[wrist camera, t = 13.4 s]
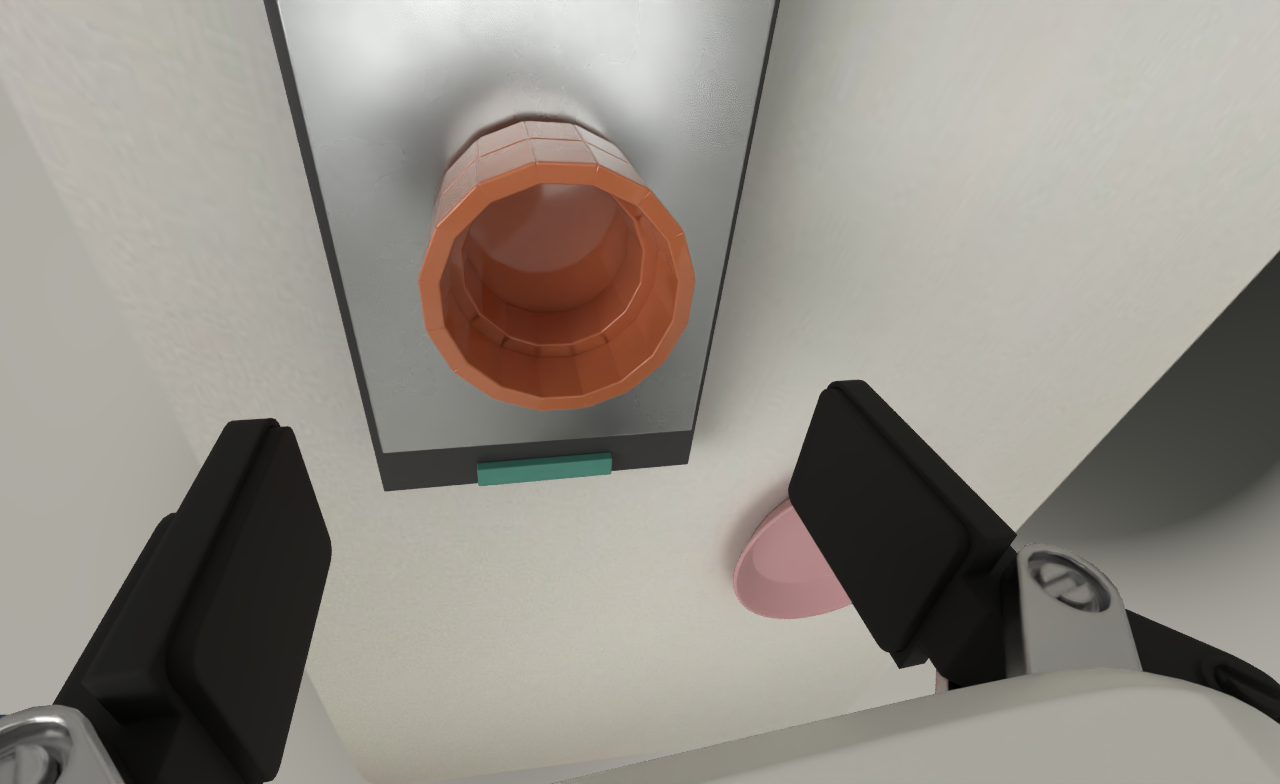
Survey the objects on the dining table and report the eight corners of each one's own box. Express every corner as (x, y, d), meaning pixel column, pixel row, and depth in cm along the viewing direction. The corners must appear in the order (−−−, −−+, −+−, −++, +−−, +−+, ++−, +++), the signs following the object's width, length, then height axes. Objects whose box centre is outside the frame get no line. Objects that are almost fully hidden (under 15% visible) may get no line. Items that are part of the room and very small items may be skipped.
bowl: (446, 329, 19) (438, 417, 16) (419, 109, 15) (398, 155, 11) (640, 324, 21) (675, 403, 17) (661, 124, 17) (714, 168, 13)
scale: (391, 455, 26) (381, 505, 24) (208, -360, 12) (137, -446, 10) (675, 433, 29) (692, 475, 27) (789, -226, 15) (848, -264, 13)
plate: (680, 563, 36) (689, 589, 35) (851, 419, 32) (870, 442, 30) (801, 613, 44) (813, 636, 43) (952, 503, 40) (972, 525, 38)
